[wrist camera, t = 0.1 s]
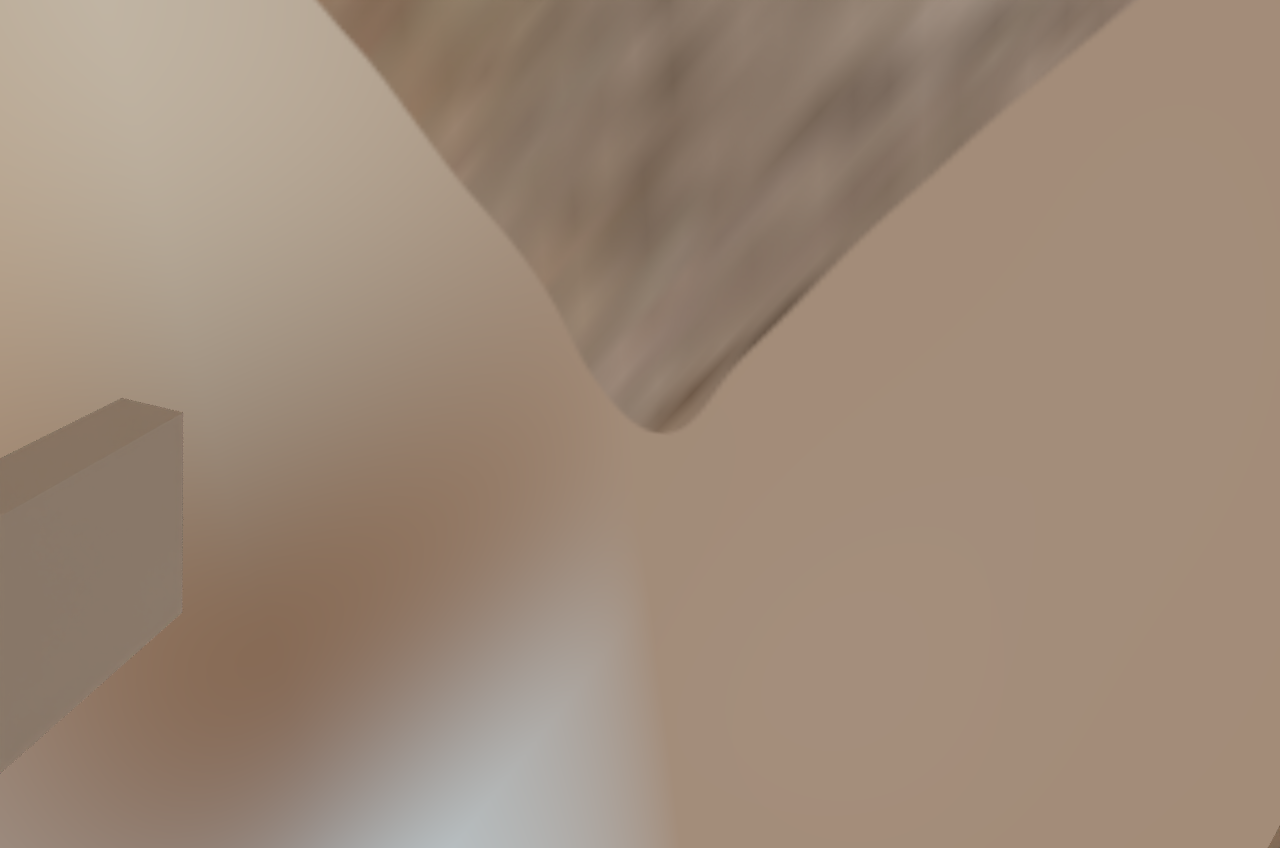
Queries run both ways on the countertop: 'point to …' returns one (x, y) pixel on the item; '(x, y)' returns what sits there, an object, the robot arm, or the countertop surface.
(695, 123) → the countertop surface
